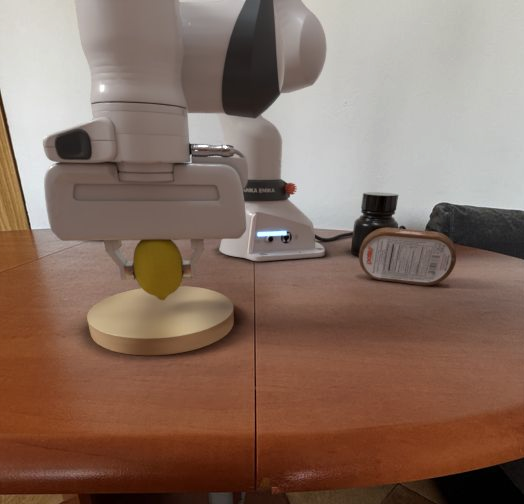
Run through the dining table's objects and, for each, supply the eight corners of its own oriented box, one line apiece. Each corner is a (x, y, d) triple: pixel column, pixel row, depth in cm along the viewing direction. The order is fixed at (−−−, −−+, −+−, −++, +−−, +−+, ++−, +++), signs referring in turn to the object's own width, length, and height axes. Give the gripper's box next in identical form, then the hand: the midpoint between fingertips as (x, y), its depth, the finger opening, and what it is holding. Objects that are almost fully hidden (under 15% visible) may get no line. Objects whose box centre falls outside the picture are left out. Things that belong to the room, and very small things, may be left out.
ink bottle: (393, 251, 83) (403, 192, 78) (396, 261, 76) (408, 197, 70) (348, 248, 85) (355, 191, 80) (347, 257, 78) (355, 194, 72)
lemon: (143, 292, 47) (134, 226, 44) (187, 292, 48) (182, 227, 44) (133, 308, 42) (122, 236, 39) (183, 308, 43) (177, 236, 39)
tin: (448, 284, 63) (461, 232, 59) (450, 290, 60) (464, 236, 56) (356, 274, 67) (363, 225, 63) (354, 279, 64) (361, 228, 60)
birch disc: (228, 297, 55) (227, 283, 54) (240, 350, 40) (240, 333, 39) (106, 301, 53) (104, 287, 52) (72, 360, 38) (67, 342, 37)
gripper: (244, 145, 42) (244, 268, 48) (46, 140, 39) (75, 272, 45) (252, 144, 36) (251, 283, 43) (22, 138, 33) (58, 289, 40)
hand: (159, 278), depth 44 cm, fingers closed on lemon, 5 cm apart
